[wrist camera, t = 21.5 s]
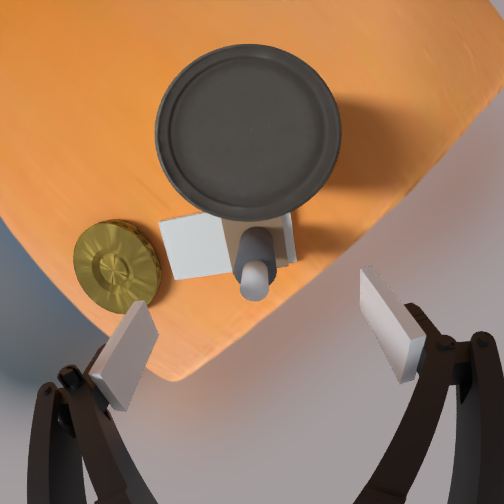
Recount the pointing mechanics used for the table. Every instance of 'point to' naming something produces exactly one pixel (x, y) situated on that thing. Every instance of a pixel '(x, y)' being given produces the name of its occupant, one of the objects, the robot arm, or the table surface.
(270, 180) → the coffee can
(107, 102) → the table surface
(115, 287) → the olive gold disc
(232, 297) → the table surface
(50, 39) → the table surface
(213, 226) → the white and brown box
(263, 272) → the grey white-capped bottle
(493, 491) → the robot arm
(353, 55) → the table surface
